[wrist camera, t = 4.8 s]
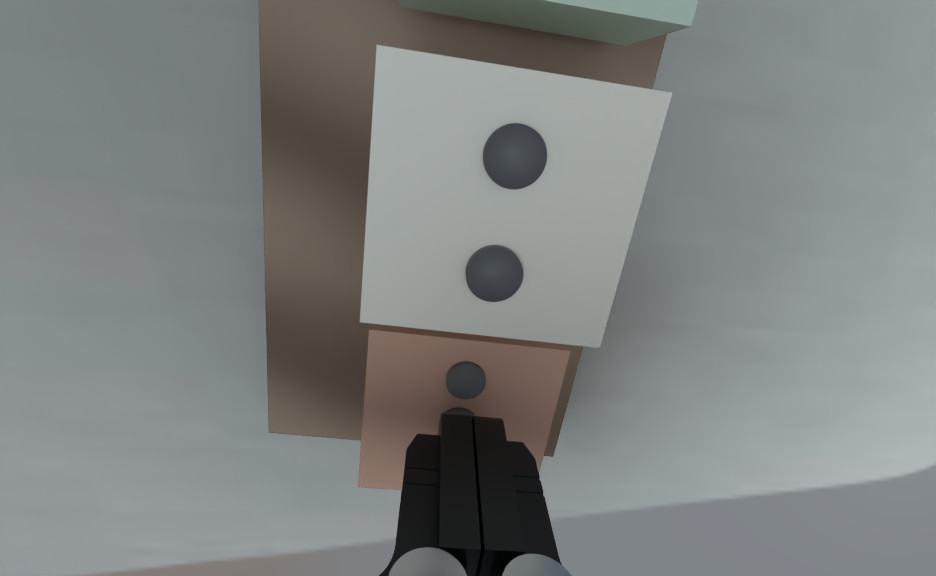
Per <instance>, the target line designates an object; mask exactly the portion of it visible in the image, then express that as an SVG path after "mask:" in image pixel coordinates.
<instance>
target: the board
mask: <svg viewBox="0 0 936 576" xmlns="http://www.w3.org/2000/svg"><path fill="white" fill-rule="evenodd" d="M666 35H667V34H664V35H660V36H657V37H653V38H650V39H646V40H643V41H639V42H636V43H632V44H629V45H620V44H614V43H608V42H602V41H597V40H591V39H585V38H579V37H573V36H567V35H561V34H555V33H550V32H544V31H538V30H532V29H526V28H520V27H514V26H509V25H503V24H497V23H491V22H485V21H479V20H473V19H468V18H462V17H456V16H450V15H444V14H438V13H432V12H426V11H421V10H415V9H409V8H403V7H400V6H399V4H398V2H397V1H396V0H259V42H260V84H261V126H262V168H263V210H264V251H265V293H266V335H267V377H268V419H269V433H279V434H291V435H303V436H315V437H327V438H338V439H350V440H361V438H362V424H363V409H364V395H365V381H366V366H367V352H368V338H369V328H370V325H371V323H363V322H360V310H361V294H362V277H363V261H364V244H365V228H366V211H367V195H368V179H369V162H370V146H371V129H372V113H373V97H374V80H375V64H376V47H377V45H382V46H388V47H394V48H400V49H406V50H413V51H419V52H425V53H431V54H437V55H443V56H450V57H456V58H462V59H468V60H474V61H480V62H486V63H493V64H499V65H505V66H511V67H517V68H523V69H530V70H536V71H542V72H548V73H554V74H560V75H567V76H573V77H579V78H585V79H591V80H597V81H603V82H610V83H616V84H622V85H628V86H634V87H640V88H647V89H652V87H653V83H654V80H655V76H656V72H657V69H658V65H659V61H660V57H661V54H662V50H663V46H664V43H665V39H666ZM568 347H569V349H570V351H571V352H570V355H569V359H568V363H567V367H566V371H565V375H564V379H563V382H562V386H561V390H560V394H559V398H558V402H557V406H556V409H555V413H554V417H553V421H552V425H551V429H550V433H549V437H548V440H547V444H546V448H545V452H544V456H552V457H553V455H554V452H555V448H556V444H557V440H558V437H559V433H560V429H561V425H562V422H563V418H564V414H565V411H566V407H567V403H568V399H569V396H570V392H571V388H572V385H573V381H574V377H575V373H576V370H577V366H578V362H579V359H580V355H581V351H582V347H583V346H577V345H568Z"/></svg>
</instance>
